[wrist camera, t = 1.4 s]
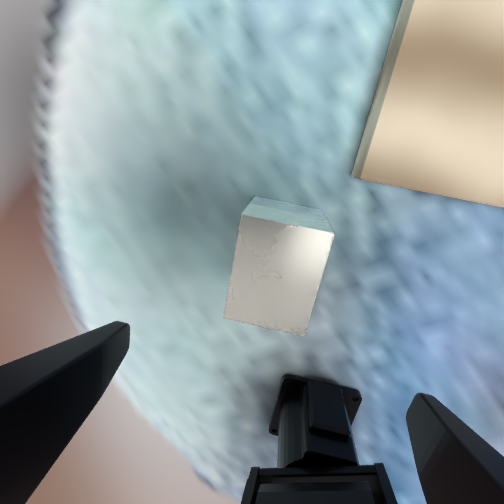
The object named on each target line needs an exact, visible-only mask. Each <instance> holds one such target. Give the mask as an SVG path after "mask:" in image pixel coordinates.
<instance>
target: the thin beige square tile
mask: <svg viewBox="0 0 504 504" xmlns="http://www.w3.org/2000/svg"><path fill="white" fill-rule="evenodd" d="M351 176H353V177H356V178H358V179H362V180H367V181H372V182H377V183H382V184H387V185H392V186H397V187H402V188H407V189H412V190H417V191H422V192H427V193H432V194H437V195H442V196H447V197H453V198H458V199H463V200H468V201H473V202H478V203H483V204H488V205H493V206H498V207H503V208H504V0H402V4H401V7H400V11H399V14H398V17H397V21H396V24H395V28H394V31H393V34H392V38H391V41H390V45H389V48H388V51H387V55H386V58H385V62H384V65H383V69H382V72H381V75H380V79H379V82H378V86H377V89H376V92H375V96H374V99H373V103H372V106H371V109H370V113H369V116H368V120H367V123H366V126H365V130H364V133H363V137H362V140H361V143H360V147H359V150H358V154H357V157H356V160H355V164H354V167H353V171H352V174H351Z"/></svg>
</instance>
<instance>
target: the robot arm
mask: <svg viewBox="0 0 504 504" xmlns="http://www.w3.org/2000/svg"><path fill="white" fill-rule="evenodd" d="M129 343H130V325H129V324H128V323H124V322H120V321H115V322H112V323H110V324H107V325H104V326H102V327H99V328H97V329H94V330H92V331H89V332H86V333H84V334H81V335H79V336H76V337H74V338H71V339H68V340H66V341H63V342H61V343H58V344H56V345H53V346H51V347H48V348H45V349H43V350H40V351H38V352H35V353H32V354H30V355H27V356H25V357H22V358H20V359H17V360H14V361H12V362H9V363H7V364H4V365H2V366H0V504H25V503H26V502H27V501H28V499H29V498H30V496H31V495H32V493H33V492H34V491H35V489H36V488H37V487H38V485H39V484H40V482H41V481H42V480H43V478H44V477H45V475H46V474H47V473H48V471H49V470H50V468H51V467H52V466H53V464H54V463H55V461H56V460H57V459H58V457H59V456H60V454H61V453H62V452H63V450H64V449H65V447H66V446H67V445H68V443H69V442H70V440H71V439H72V438H73V436H74V435H75V433H76V432H77V431H78V429H79V428H80V426H81V425H82V423H83V422H84V421H85V419H86V418H87V417H88V415H89V414H90V412H91V411H92V410H93V408H94V407H95V405H96V404H97V402H98V401H99V400H100V398H101V397H102V395H103V393H104V392H105V390H106V388H107V387H108V385H109V383H110V381H111V380H112V378H113V376H114V374H115V373H116V371H117V369H118V367H119V366H120V364H121V362H122V360H123V359H124V357H125V355H126V353H127V351H128V349H129ZM287 381H290V382H287ZM354 397H355V398H354ZM361 401H362V397H361V394H360V392H359V391H356V390H352V389H348V388H344V387H339V386H335V385H331V384H327V383H322V382H318V381H314V380H310V379H305V378H301V377H297V376H293V375H285V376H283V378H282V382H281V385H280V389H279V392H278V396H277V400H276V403H275V407H274V410H273V414H272V417H271V421H270V425H269V432H270V433H271V434H273V435H276V436H278V459H277V468H260V467H251V471H250V475H249V478H248V479H247V482H246V486H245V490H244V493H243V497H242V501H241V504H398V503H397V501H396V498H395V495H394V492H393V490H392V487H391V484H390V481H389V479H388V476H387V473H386V470H385V468H384V465H383V463H374V465H359V461H358V457H357V452H356V448H355V443H354V439H353V434H352V430H351V425H352V422H353V420H354V418H355V415H356V413H357V410H358V408H359V406H360V403H361ZM406 422H407V426H408V431H409V436H410V440H411V445H412V449H413V454H414V459H415V463H416V468H417V472H418V476H419V480H420V483H421V486H422V490H423V493H424V496H425V499H426V502H427V504H504V457H503V456H502V455H501V454H500V453H499V452H498V451H496V450H495V449H494V448H493V447H492V446H491V445H489V444H488V443H487V442H486V441H485V440H484V439H482V438H481V437H480V436H479V435H478V434H477V433H476V432H474V431H473V430H472V429H471V428H470V427H469V426H467V425H466V424H465V423H464V422H463V421H462V420H460V419H459V418H458V417H457V416H456V415H455V414H454V413H452V412H451V411H450V410H449V409H448V408H447V407H445V406H444V405H443V404H442V403H441V402H440V401H438V400H437V399H436V398H435V397H434V396H432V395H428V394H424V393H417V394H416V395H415V397H414V399H413V401H412V403H411V405H410V407H409V409H408V411H407V414H406Z"/></svg>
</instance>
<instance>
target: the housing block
mask: <svg viewBox="0 0 504 504" xmlns="http://www.w3.org/2000/svg"><path fill="white" fill-rule="evenodd" d="M334 235H335V233H334V231H333V229H332V227H331V226H330V224H329V222H328V220H327V218H326V216H325V214H324V213H323V211H322V210H321V209H316V208H311V207H306V206H302V205H297V204H292V203H287V202H282V201H277V200H272V199H267V198H263V197H258V196H254V198H253V199H252V200H251V202H250V203H249V204H248V206H247V207H246V208H245V210H244V211H243V212H242V214H241V218H240V224H239V230H238V235H237V241H236V247H235V253H234V259H233V264H232V270H231V276H230V282H229V288H228V293H227V299H226V305H225V311H224V317H223V318H226V319H230V320H234V321H239V322H243V323H248V324H252V325H256V326H261V327H265V328H269V329H274V330H278V331H283V332H287V333H291V334H296V335H300V336H305V333H306V330H307V326H308V323H309V320H310V316H311V313H312V309H313V306H314V303H315V299H316V296H317V292H318V289H319V286H320V282H321V279H322V276H323V272H324V269H325V265H326V262H327V259H328V255H329V252H330V248H331V245H332V242H333V238H334Z"/></svg>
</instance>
